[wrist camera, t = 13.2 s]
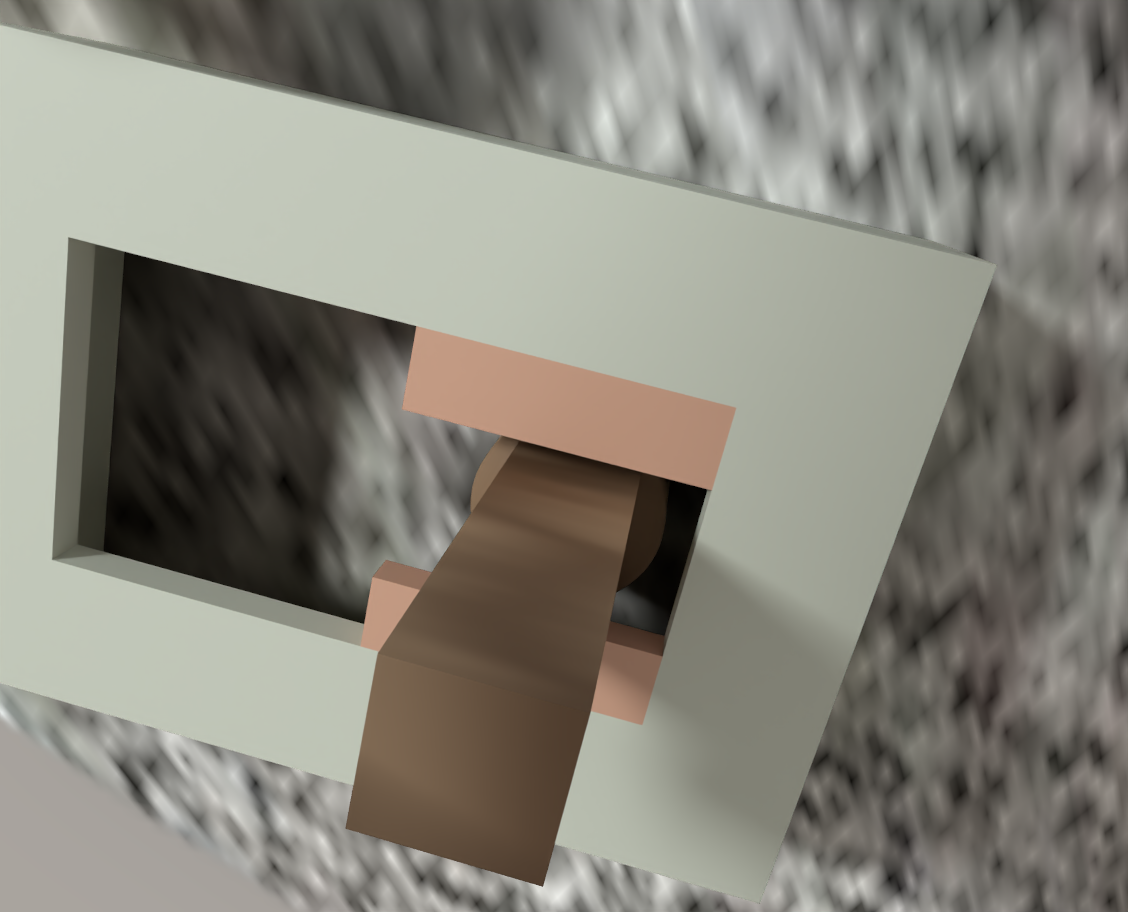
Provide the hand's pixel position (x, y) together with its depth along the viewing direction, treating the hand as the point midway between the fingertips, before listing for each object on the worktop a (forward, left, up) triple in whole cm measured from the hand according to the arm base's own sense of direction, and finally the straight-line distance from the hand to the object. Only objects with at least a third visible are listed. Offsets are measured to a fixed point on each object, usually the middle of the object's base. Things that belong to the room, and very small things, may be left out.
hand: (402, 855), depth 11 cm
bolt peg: (0, 0, -16) cm, 16 cm away
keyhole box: (-4, 0, -16) cm, 16 cm away
